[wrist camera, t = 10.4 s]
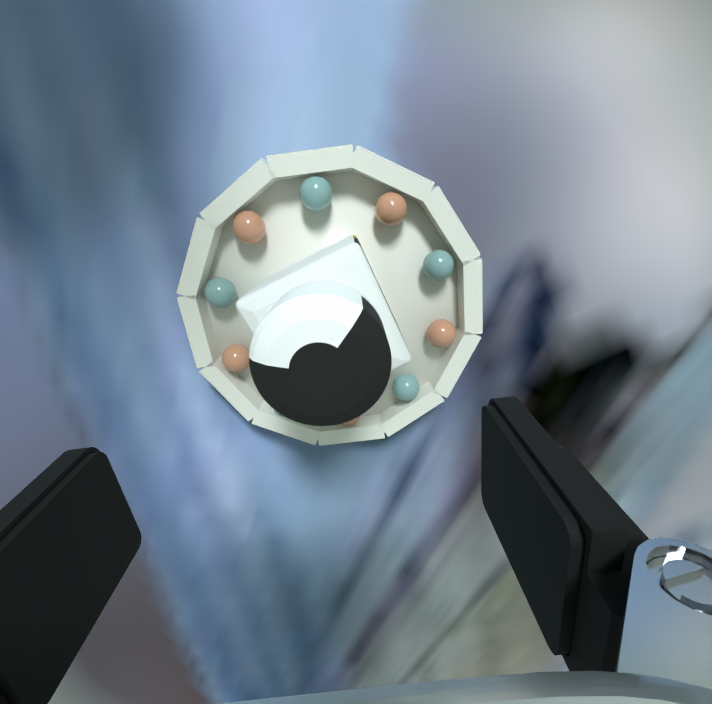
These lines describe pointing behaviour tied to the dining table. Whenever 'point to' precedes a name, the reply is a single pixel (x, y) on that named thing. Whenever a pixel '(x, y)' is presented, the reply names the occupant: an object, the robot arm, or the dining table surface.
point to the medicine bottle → (322, 336)
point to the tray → (313, 233)
